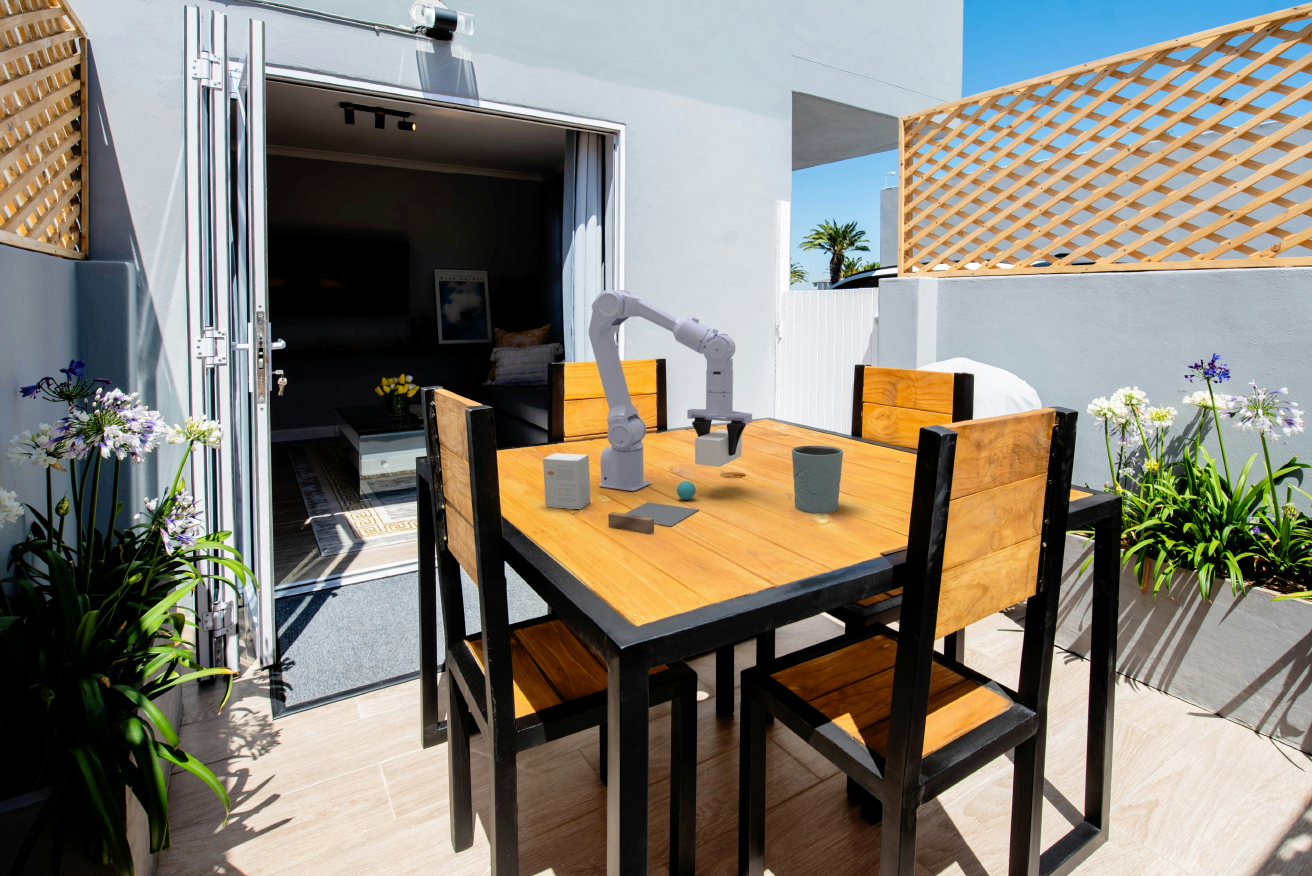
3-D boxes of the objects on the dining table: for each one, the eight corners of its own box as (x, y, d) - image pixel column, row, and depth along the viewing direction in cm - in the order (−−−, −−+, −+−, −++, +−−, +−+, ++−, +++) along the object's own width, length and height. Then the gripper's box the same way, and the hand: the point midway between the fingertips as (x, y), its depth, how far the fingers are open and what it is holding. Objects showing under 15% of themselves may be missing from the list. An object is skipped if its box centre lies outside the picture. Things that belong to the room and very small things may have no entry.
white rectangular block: (695, 464, 152) (695, 438, 151) (718, 453, 162) (718, 429, 161) (719, 467, 149) (719, 440, 148) (741, 456, 159) (741, 431, 158)
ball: (673, 500, 151) (673, 482, 150) (682, 496, 154) (682, 478, 153) (690, 503, 149) (690, 484, 148) (698, 498, 152) (698, 480, 151)
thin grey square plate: (616, 518, 139) (616, 517, 139) (647, 502, 149) (647, 502, 149) (670, 527, 133) (670, 525, 133) (699, 510, 143) (699, 509, 143)
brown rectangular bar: (608, 526, 134) (608, 513, 133) (613, 524, 135) (612, 511, 134) (650, 533, 129) (649, 520, 129) (654, 531, 131) (653, 518, 130)
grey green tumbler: (812, 517, 138) (814, 457, 136) (780, 504, 147) (781, 447, 145) (851, 509, 143) (854, 451, 140) (818, 497, 151) (820, 442, 149)
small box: (591, 503, 150) (589, 454, 148) (579, 510, 144) (578, 460, 142) (557, 500, 152) (555, 452, 150) (544, 507, 147) (542, 457, 145)
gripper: (680, 391, 153) (680, 453, 155) (743, 395, 146) (742, 460, 148) (695, 388, 159) (695, 447, 161) (756, 391, 152) (755, 454, 154)
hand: (718, 453), depth 155 cm, fingers closed on white rectangular block, 6 cm apart
